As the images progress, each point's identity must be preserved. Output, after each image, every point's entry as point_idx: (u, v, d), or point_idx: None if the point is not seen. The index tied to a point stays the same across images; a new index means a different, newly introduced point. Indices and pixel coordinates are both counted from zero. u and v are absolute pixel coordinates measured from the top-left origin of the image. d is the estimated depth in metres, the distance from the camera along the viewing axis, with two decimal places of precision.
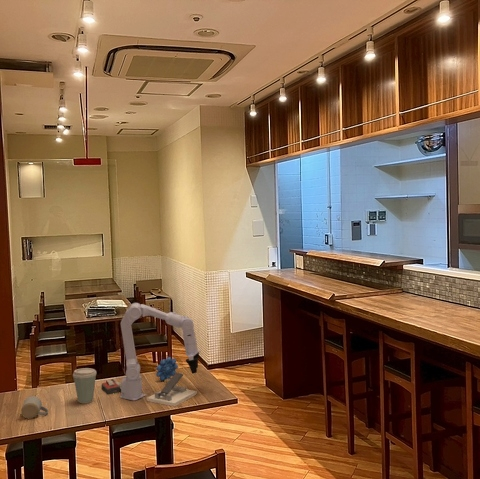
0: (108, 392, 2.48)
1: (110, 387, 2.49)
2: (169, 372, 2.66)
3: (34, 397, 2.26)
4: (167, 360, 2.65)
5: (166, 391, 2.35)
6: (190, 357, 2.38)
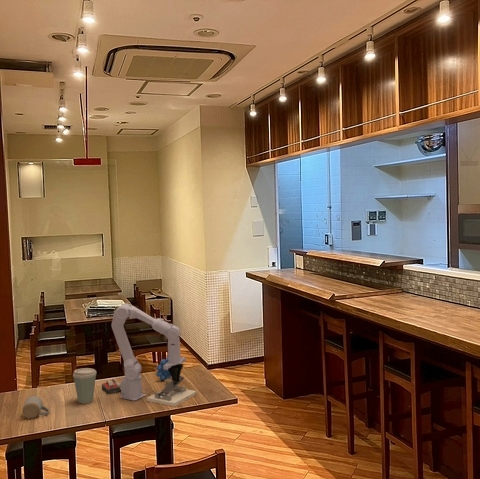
0: (108, 392, 2.47)
1: (110, 387, 2.49)
2: (169, 372, 2.66)
3: (35, 397, 2.26)
4: (167, 360, 2.65)
5: (166, 391, 2.35)
6: (164, 366, 2.36)
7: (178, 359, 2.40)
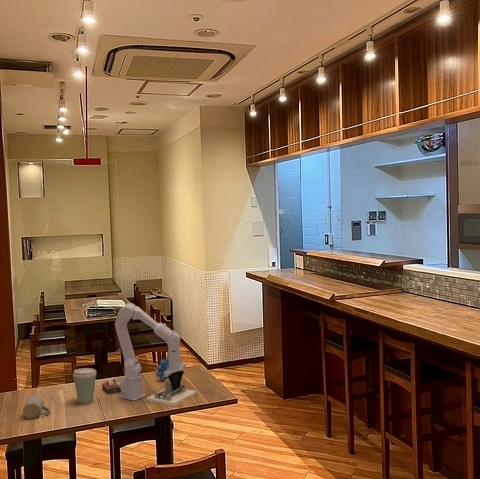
0: (107, 392, 2.47)
1: (110, 387, 2.49)
2: None
3: (36, 397, 2.26)
4: (167, 360, 2.65)
5: (167, 392, 2.35)
6: (165, 373, 2.36)
7: (178, 366, 2.40)
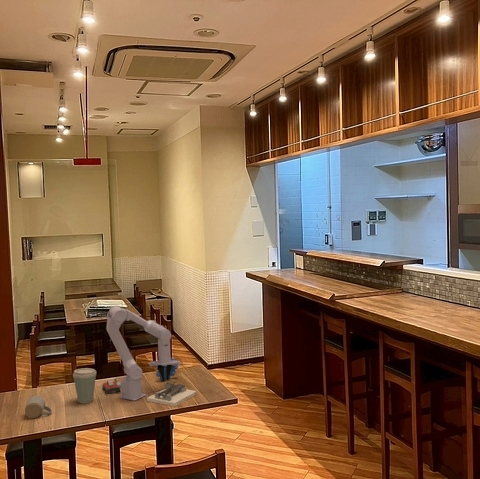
0: (107, 392, 2.47)
1: (109, 387, 2.49)
2: None
3: (37, 397, 2.26)
4: None
5: (167, 392, 2.35)
6: None
7: (162, 360, 2.46)
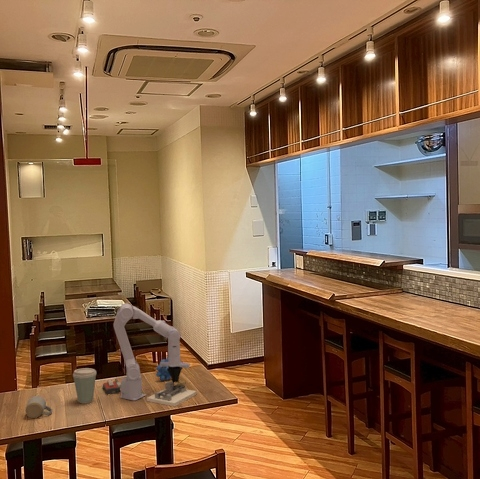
0: (107, 392, 2.47)
1: (109, 387, 2.49)
2: None
3: (38, 397, 2.26)
4: (167, 360, 2.65)
5: (167, 392, 2.35)
6: None
7: (171, 362, 2.44)
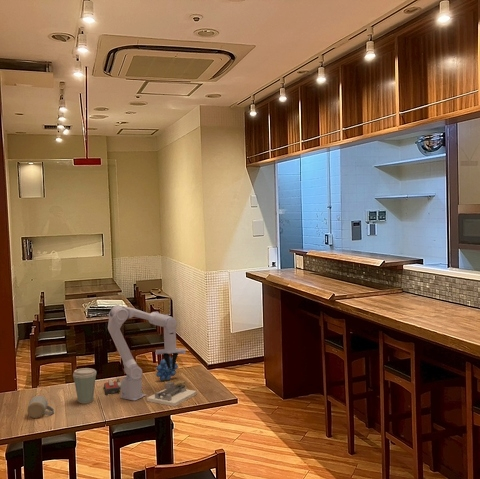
0: (106, 392, 2.47)
1: (109, 387, 2.49)
2: (169, 372, 2.66)
3: (40, 396, 2.26)
4: None
5: (167, 392, 2.35)
6: None
7: (168, 348, 2.47)
